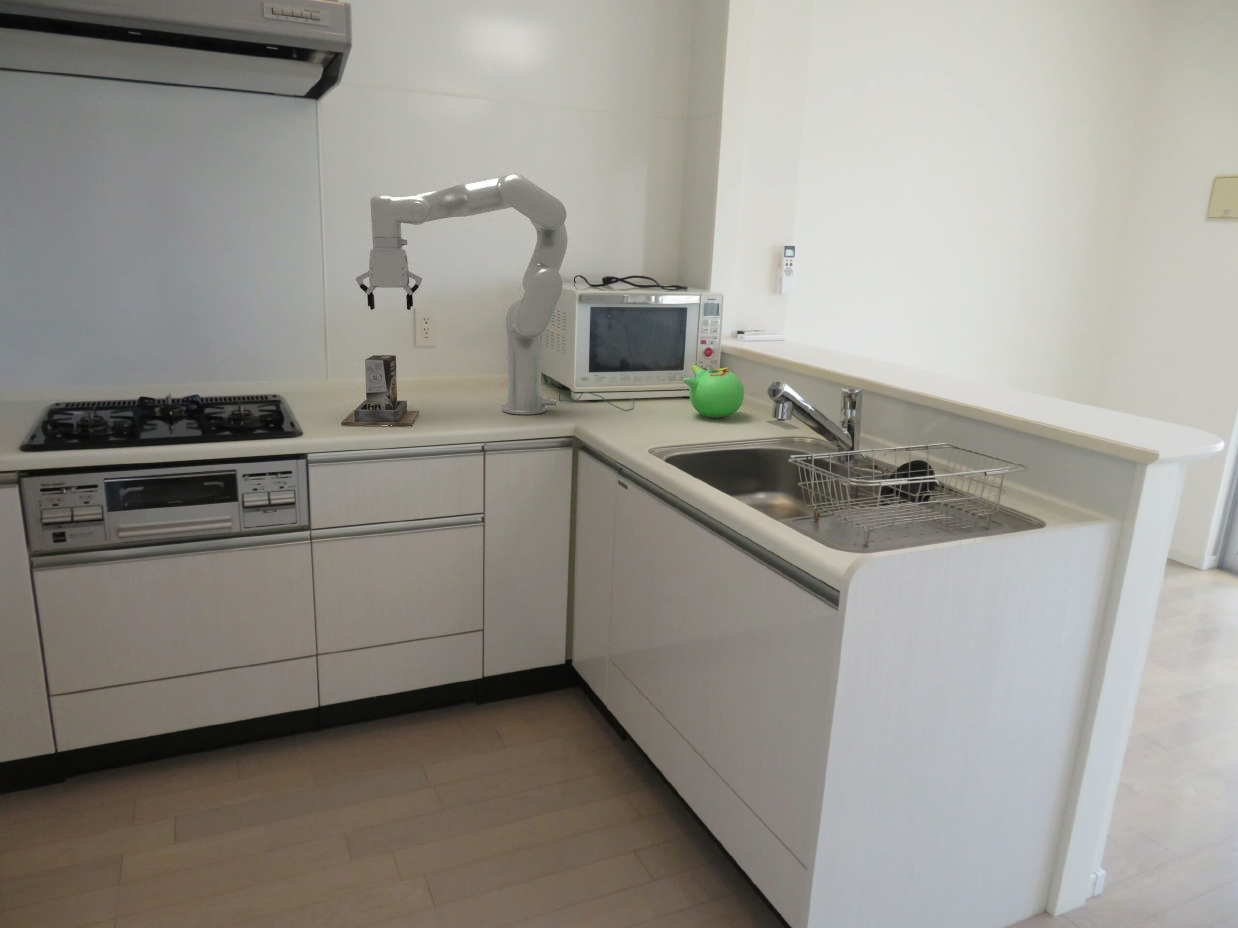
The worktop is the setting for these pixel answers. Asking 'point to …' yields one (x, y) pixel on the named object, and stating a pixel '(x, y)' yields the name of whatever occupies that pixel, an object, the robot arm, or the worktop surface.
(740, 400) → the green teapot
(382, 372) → the coffee box
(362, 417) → the dock
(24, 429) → the worktop surface
